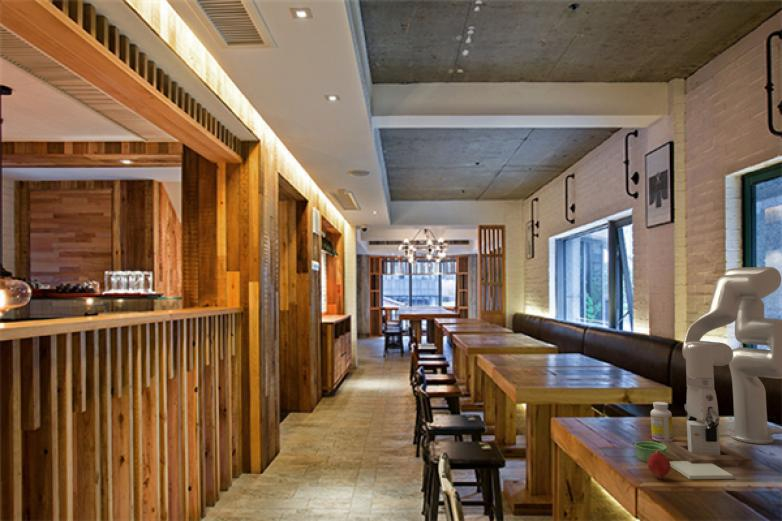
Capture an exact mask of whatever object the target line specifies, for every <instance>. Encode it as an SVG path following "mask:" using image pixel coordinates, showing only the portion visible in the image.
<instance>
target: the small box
mask: <svg viewBox="0 0 782 521" xmlns="http://www.w3.org/2000/svg"><path fill="white" fill-rule="evenodd" d="M710 423H711V422H709V424H710ZM705 428H707V427H706V425H705V423H704V421H702V420H696V421H689V420H686V434H687V436H686V437H687V442H688V451H690V452H692V453H693V454H695V455H720V444H721V443H720V428H719V426H718V429H717V442H707V441H706V439H705Z"/></svg>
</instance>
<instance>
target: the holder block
mask: <svg viewBox="0 0 782 521" xmlns="http://www.w3.org/2000/svg"><path fill="white" fill-rule="evenodd" d="M660 444H663V445H665V446H666V447H667V450H666V453H667V454H670V455H671V456H673V457H675V458H676V459H678V460H679V461H688V462H690V463H712V464H714V465H716V466H718V467H753V459H752V458H750V457H748V456H746V455H744V454H742V453H740V452H737V451H736V450H734V449H732V448H730V447H727V446H725V445H724V444H721V443H720V455H695V454H693V453H692V452H690V451H688V441H672V442H660Z"/></svg>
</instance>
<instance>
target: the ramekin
mask: <svg viewBox="0 0 782 521" xmlns="http://www.w3.org/2000/svg"><path fill="white" fill-rule="evenodd" d="M634 446H635V452H636V458H637V459H638V460H639V461H642V462H645V463H647V461H648V459H649V457H650V456H651V455H652V454H653V453H655V452H656V451H657V450H660V452H661V453H662V454H663V455H665V456H666V457H667V452H666V450H667V447H666V446H665V445H663V444H661V442H657V441H648V440H647V441H646V440H643V441H642V440H640V441H637V442H634Z"/></svg>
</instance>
